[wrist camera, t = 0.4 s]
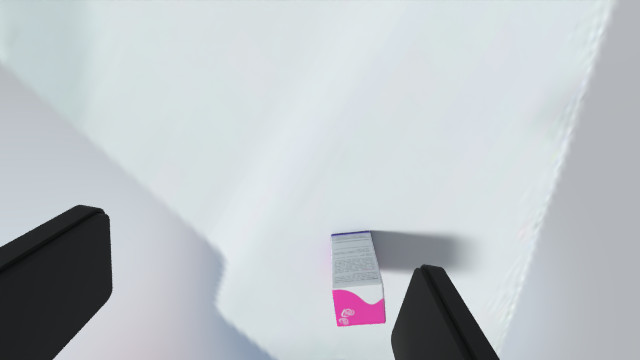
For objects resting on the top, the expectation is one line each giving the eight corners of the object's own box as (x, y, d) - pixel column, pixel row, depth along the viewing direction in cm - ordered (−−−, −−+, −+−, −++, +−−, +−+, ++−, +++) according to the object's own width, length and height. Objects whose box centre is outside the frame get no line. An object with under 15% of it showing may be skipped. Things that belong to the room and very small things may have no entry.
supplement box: (329, 234, 44) (331, 287, 33) (370, 229, 43) (386, 282, 32) (333, 267, 45) (337, 328, 35) (373, 263, 45) (389, 324, 34)
